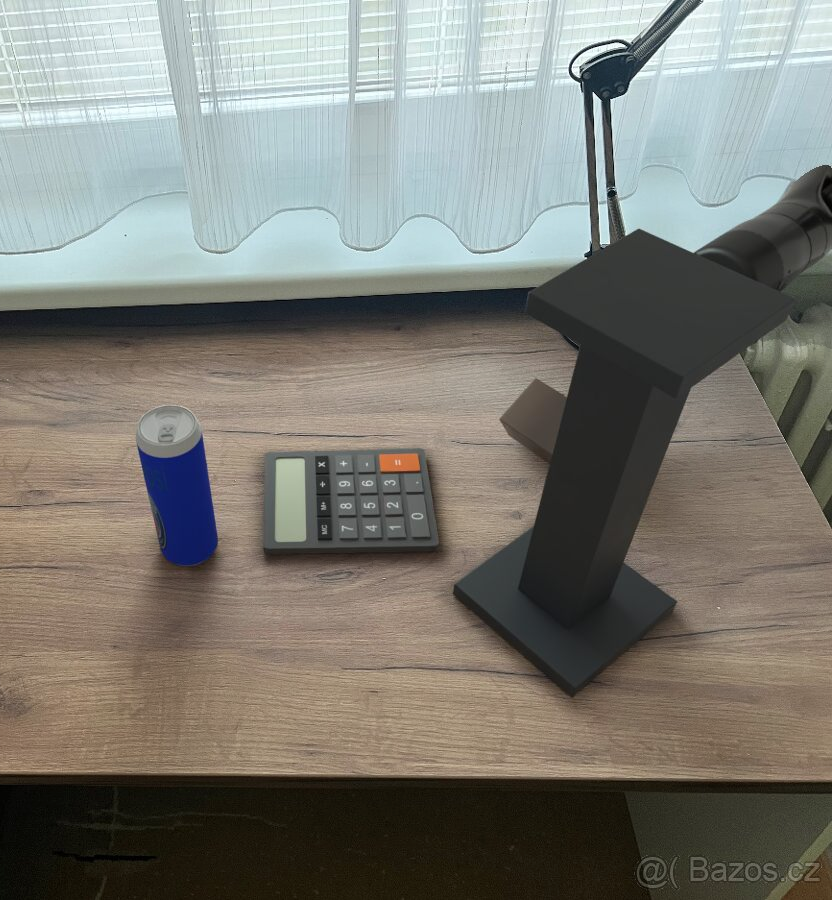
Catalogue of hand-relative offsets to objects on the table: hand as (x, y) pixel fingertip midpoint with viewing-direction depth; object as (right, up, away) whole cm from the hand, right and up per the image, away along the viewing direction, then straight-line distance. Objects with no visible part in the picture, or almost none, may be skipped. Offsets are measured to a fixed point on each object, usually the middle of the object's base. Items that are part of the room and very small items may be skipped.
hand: (630, 341), depth 78 cm
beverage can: (-39, -18, 0) cm, 43 cm away
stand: (-9, -22, -7) cm, 25 cm away
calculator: (-25, -14, +2) cm, 29 cm away
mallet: (-1, -3, +2) cm, 4 cm away
